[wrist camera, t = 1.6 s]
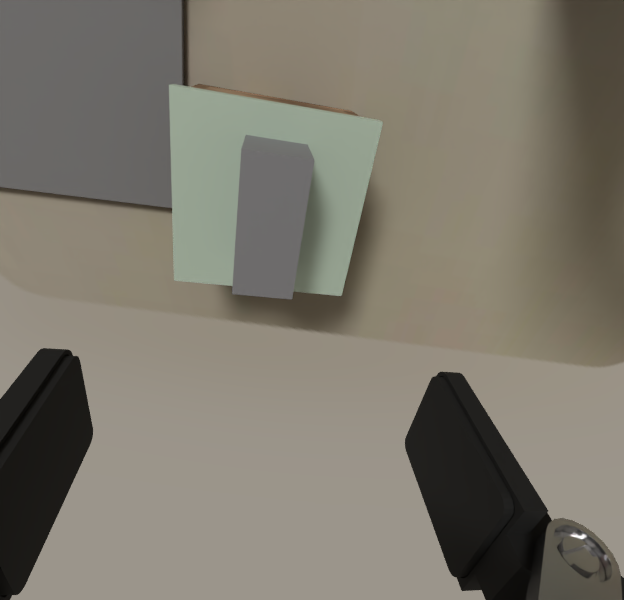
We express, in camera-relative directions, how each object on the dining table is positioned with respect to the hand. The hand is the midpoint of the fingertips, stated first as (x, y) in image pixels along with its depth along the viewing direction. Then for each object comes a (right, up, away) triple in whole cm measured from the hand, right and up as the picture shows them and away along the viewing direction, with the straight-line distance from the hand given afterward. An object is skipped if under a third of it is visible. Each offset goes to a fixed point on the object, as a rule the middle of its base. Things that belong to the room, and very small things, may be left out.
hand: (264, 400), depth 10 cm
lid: (-2, +10, +15) cm, 18 cm away
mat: (-15, +17, +16) cm, 28 cm away
